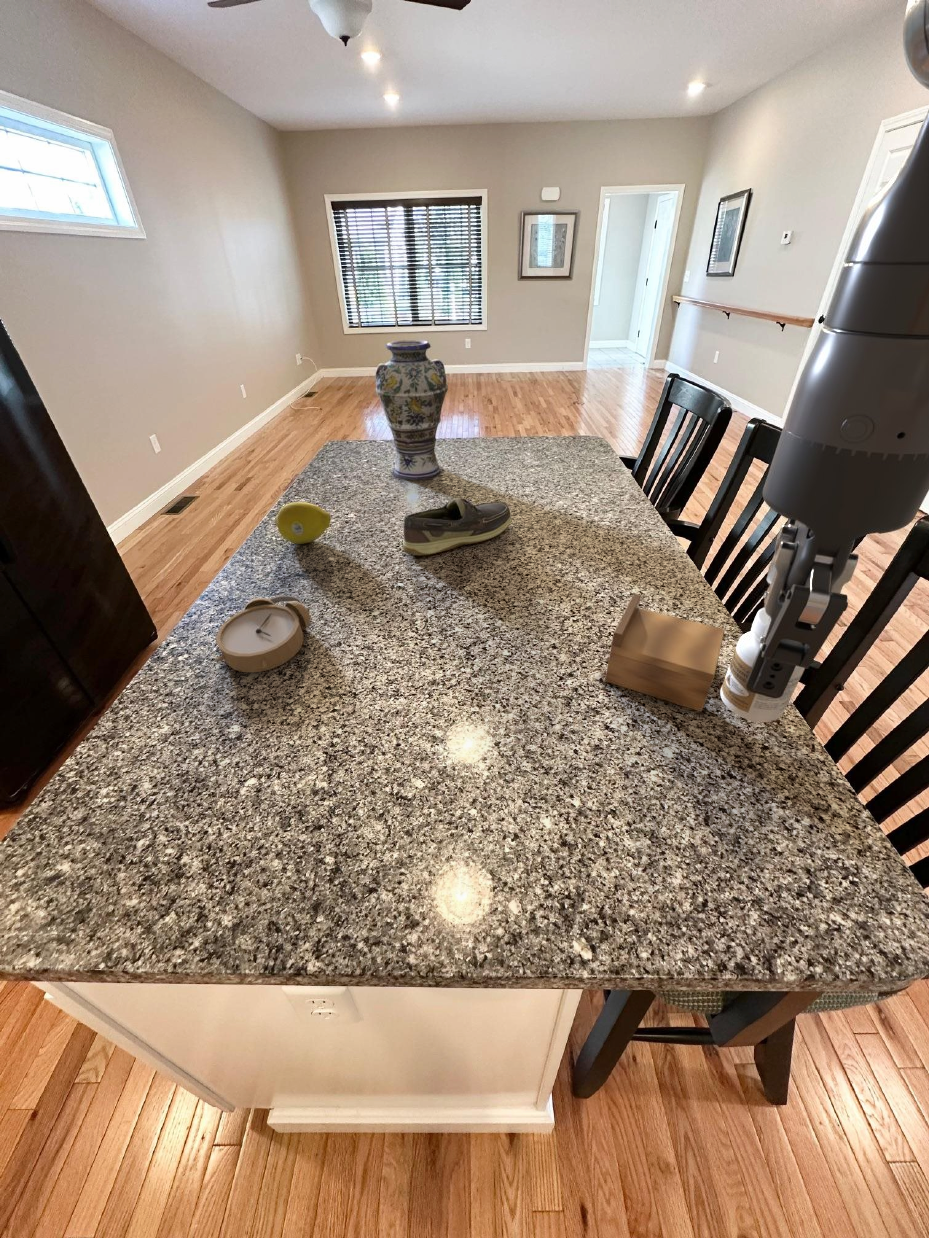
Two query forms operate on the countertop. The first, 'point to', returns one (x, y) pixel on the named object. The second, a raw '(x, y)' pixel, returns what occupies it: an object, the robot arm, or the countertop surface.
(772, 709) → the pill bottle
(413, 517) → the boat shoe
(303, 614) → the alarm clock
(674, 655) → the shelf
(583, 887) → the countertop surface
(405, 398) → the vase
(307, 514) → the lemon
